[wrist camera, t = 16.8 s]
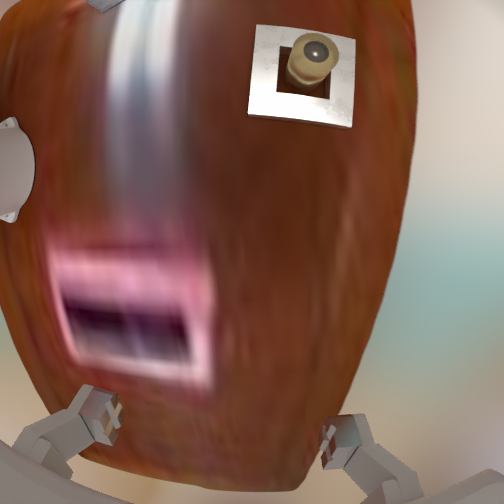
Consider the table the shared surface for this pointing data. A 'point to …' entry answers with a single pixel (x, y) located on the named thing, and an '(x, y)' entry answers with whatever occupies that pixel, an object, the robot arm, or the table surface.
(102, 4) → the medicine box
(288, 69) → the brass bushing
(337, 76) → the aluminium jig
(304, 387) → the table surface
